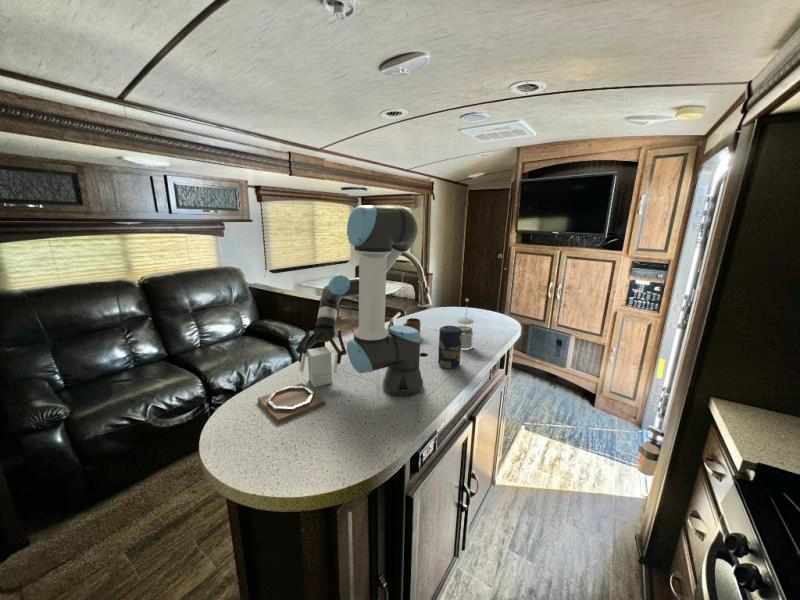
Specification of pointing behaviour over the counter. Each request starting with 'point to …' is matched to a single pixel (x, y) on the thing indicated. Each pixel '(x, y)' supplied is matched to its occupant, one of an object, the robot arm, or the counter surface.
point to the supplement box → (319, 366)
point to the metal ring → (278, 408)
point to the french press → (466, 331)
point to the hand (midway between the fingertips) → (317, 371)
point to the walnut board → (290, 403)
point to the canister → (449, 346)
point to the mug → (413, 323)
